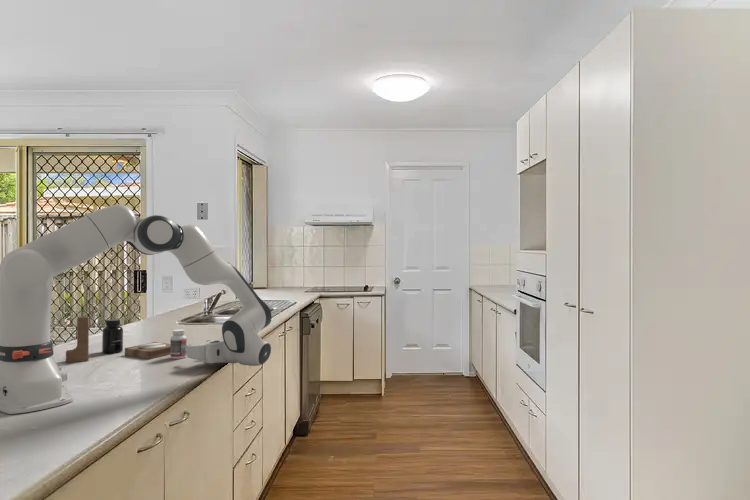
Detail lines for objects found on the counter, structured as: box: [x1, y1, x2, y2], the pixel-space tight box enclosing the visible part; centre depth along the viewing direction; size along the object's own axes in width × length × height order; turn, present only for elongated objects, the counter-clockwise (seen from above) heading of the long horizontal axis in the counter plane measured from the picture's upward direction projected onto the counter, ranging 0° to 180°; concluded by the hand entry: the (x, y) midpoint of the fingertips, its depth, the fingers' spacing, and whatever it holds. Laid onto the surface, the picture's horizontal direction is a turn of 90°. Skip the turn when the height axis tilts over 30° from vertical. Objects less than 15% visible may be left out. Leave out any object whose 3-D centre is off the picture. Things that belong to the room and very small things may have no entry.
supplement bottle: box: [101, 318, 124, 355], centre depth 187 cm, size 7×7×12 cm
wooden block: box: [65, 315, 90, 364], centre depth 173 cm, size 7×3×15 cm, turn 118°
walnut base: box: [124, 341, 171, 360], centre depth 185 cm, size 13×13×3 cm
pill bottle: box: [170, 328, 188, 360], centre depth 180 cm, size 5×5×10 cm
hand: (197, 345), depth 176 cm, fingers open, 8 cm apart
